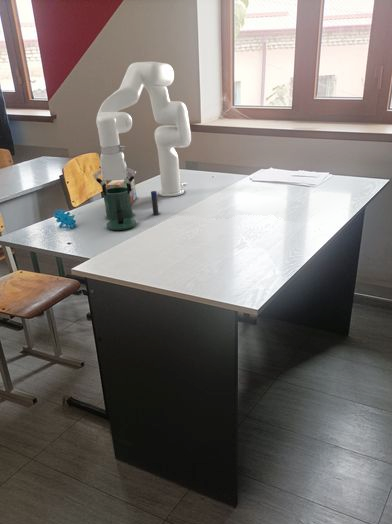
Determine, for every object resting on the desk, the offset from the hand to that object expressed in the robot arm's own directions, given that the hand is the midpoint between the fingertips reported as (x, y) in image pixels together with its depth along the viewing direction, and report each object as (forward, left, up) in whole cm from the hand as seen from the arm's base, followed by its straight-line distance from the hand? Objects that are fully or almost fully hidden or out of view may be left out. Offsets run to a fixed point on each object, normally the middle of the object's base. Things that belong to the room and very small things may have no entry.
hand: (117, 193), depth 208 cm
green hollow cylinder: (-8, -12, -14) cm, 20 cm away
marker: (-20, -1, -14) cm, 24 cm away
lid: (0, 0, -13) cm, 13 cm away
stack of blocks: (-21, -26, -14) cm, 36 cm away
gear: (+15, -19, -14) cm, 28 cm away
